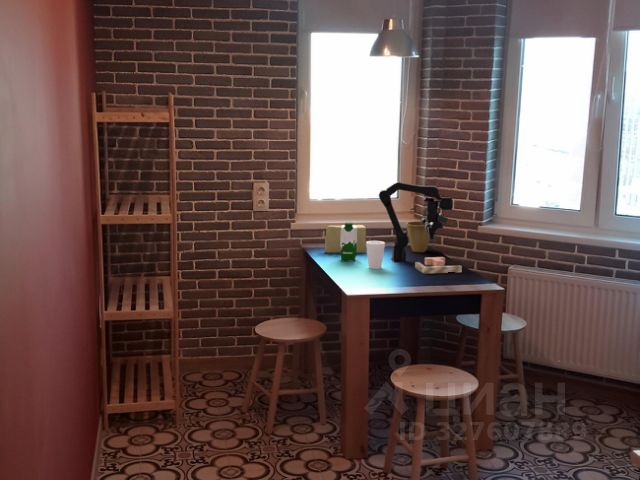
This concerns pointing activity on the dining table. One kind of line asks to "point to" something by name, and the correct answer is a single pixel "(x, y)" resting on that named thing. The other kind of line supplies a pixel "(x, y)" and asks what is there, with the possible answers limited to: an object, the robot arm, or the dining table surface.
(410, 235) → the plant pot
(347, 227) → the milk carton
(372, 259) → the foam cup
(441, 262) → the t block
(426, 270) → the wooden l block
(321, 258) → the dining table surface
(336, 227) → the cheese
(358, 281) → the dining table surface
